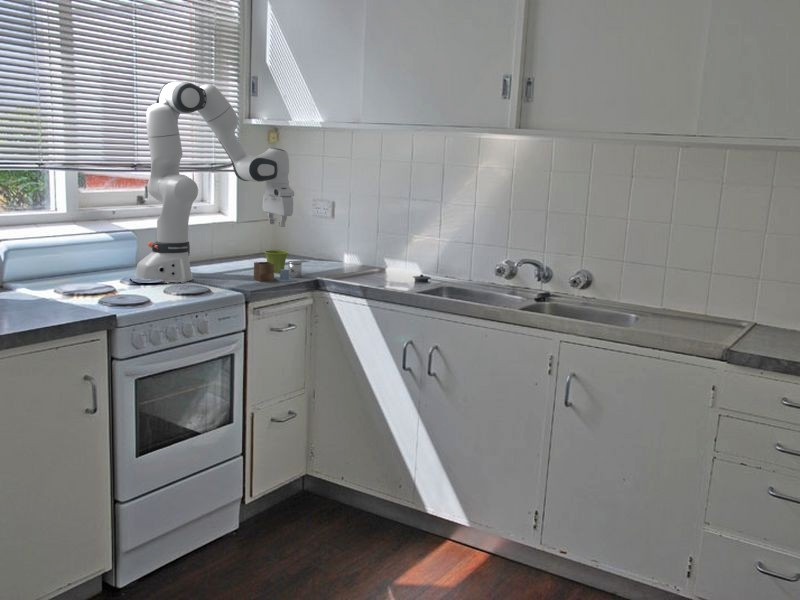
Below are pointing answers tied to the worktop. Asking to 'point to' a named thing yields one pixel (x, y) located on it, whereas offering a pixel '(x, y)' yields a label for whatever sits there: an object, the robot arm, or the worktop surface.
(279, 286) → the worktop surface
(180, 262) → the robot arm
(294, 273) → the tin
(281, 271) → the lid
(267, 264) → the canister
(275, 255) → the plant pot
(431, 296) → the worktop surface
